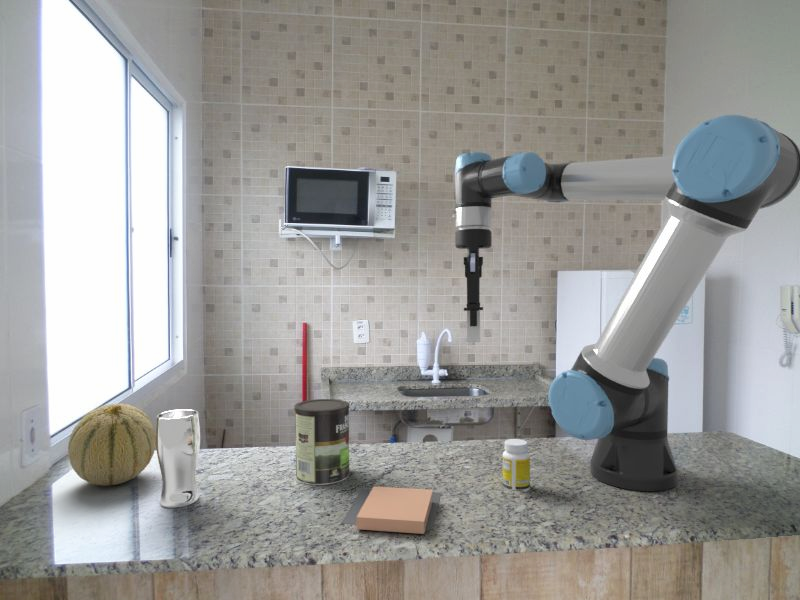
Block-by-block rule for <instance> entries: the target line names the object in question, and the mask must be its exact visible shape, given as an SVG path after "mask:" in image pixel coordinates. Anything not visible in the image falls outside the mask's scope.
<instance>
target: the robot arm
mask: <svg viewBox="0 0 800 600" xmlns="http://www.w3.org/2000/svg"><path fill="white" fill-rule="evenodd" d="M799 182H800V147H799V146H798V145H797V143H796V142H795V141H794V140H793V139H792V138H790V137H789V136H788V135H785V134H784V133H782V132H779V130H776V129H775V128H773V127H772V126H770V124H768V123H767V122H764V121H762V120H759V119H757V118H752V117H748V116H746V115H739V114H725V115H720V116H716V117H713V118H710V119H708V120H706V121H703V122H702V123H700V124H698V125H697V126H695V127H694V128H693V129H691V130H690V132H688V133H687V134H686V135H685V136H684V137H683V139H682V140H681V141H680V143H679V144H678V146H677V148H676V149H675V152H674V153H673V155H667V156H650V157H648V156H647V157H636V158H634V157H632V158H624V159H623V158H621V159H619V158H618V159H608V160H607V159H606V160H595V161H594V160H592V161H579V162H570V163H569V162H568V163H567V162H566V163H565V162H564V163H548V162H545V161H544V160H543V158H541V157H540V156H539V154H538V153H536V152H534V151H528V152H517V153H513V154H512V155H508V156H503V157H499V158H495V159H492V157H491V155H490V154H489V153H488V152H483V151H482V152H480V151H473V152H466V153H465V152H464V153H461V154H460V155H458V156H457V157H456V161H455V170H454V185H455V187H454V188H455V190H454V192H455V193H454V195H455V212H456V213H453V214H452V219H455V228H456V229H458V230H456V231H455V232H454V233H455V240H454V241H455V248H457V249H460V250H461V249H462V250H467V254H466V255H467V256H463V265H464V278H466V307H463V311H464V312H466V342H468V343H480V342H481V311H483V310H484V306H482V307H481V302H480V301H481V300H480V294H481V293H480V282H481V281H480V279H481V278H483V277H482V276H483V271H482V268H483V267H482V266H483V265H484V257H483V256H480V249H482V250H483V249H490V248H491V247H492V241H493V240H492V235H493V234H492V231H491V229H490V228H492V226H493V225H492V224H493V220H492V219H493V212H492V211H493V208H492V205H493V203H492V200H493V199H496V198H502V197H508V196H509V197H511V196H512V197H513V196H514V197H518V198H519V197H520V198H525V199H526V198H527V199H532V200H540V201H546V202H548V203H554V204H555V203H566V202H568V201H651V200H653V201H654V200H655V201H657V200H659V201H663V200H664V201H665V203H666V206H667V208H668V214H667V217H665V220H664V221H663V223H662V225H661V226H660V228H659V230H658V232H657V233H656V236H654V240H653V241H652V243H651V245H650V247H648V250H647V252H646V253H645V256H644V257H643V259H642V261H641V263H639V264H640V265H639V266H638V268H637V270H636V271H635V273H634V275H633V277H632V279H631V280H630V282H629V284H628V286H627V288H626V289H625V291H624V293H623V295H622V296H621V298H620V300H619V303H618V304H617V305H616V307H615V310H614V311H613V313H612V314H611V316H610V318H609V320H608V322H607V323H606V326H605V327H604V329H603V331H602V333H601V335H600V336H599V337H598V339H597V342H595V343H593V344H589V345H585V346H584V347H583V348H582V349H581V351H580V353H579V355H578V356H577V358H576V360H575V361H574V364H573V366H572V368H571V369H570V370H569V369H567V370H566V371H562V372H561V373H560V374H558V375H557V376H556V377H555V378H554V379H553V380H552V382H551V383H550V385H549V386H550V387H549V389H548V396H547V398H548V406H549V408H550V410H551V416H552V417H553V419H554V420H555V422H556V423H557V425H558V426H559V427H560V429H561V430H563V431H564V432H565V433H566V434H567V435H569V436H571V437H573V438H576V439H578V440H582V441H591V440H597V441H596V443H595V447H594V450H593V452H592V455H591V458H590V470H589V471H590V475H592V477H593V478H594V479H596V480H598V481H600V482H602V483H604V484H606V485H610V486H613V487H617V488H621V489H626V490H631V491H632V490H633V491H640V492H641V491H642V492H660V491H667V490H670V489H671V490H672V488H675V487H676V486H677V485H678V483H679V482H678V481H679V480H678V479H679V477H678V476H679V471H678V468H677V467H678V466H677V464H676V462H675V459H674V455H673V452H672V450H671V446H670V443H669V440H668V427H669V425H668V423H669V422H668V421H669V412H668V411H669V382H670V376H669V370H668V364H667V361H665V360H664V359H662V358H659V357H656V355H657V353H658V351H659V349H660V348H661V347H662V344H663V343H664V341H665V340H666V338H667V336H668V335H669V333H670V331H671V330H672V328H673V327H674V325H675V324H676V322H677V320H678V319H679V318H680V315H681V314H682V312H683V311H684V309H685V307H686V306H687V305H688V302H689V301H690V299H691V297H692V296H693V294H694V293H695V291H696V290H697V288H698V286H699V284H700V283H701V281H703V278H704V277H705V276H706V273H707V271H708V270H709V268H710V267H711V266H712V264H713V262H714V260H715V259H716V257H717V255H718V254H719V253H720V251H721V249H722V247H723V245H725V242H726V241H727V239H728V238H729V237H731V236H733V235H736V234H739V233H742V232H745V231H747V229H748V228H749V226H750V225H751V223H752V221H753V220H754V218H755V217H756V215H757V214H758V212H759V210H762V209H764V208H769V207H771V206H773V205H776V204H778V203H781V202H782V201H783V200H784V199H786V198H787V197H789V195H791V194H792V192H793V191H794V190H795V189H796V188H797V186H798V184H799Z"/></svg>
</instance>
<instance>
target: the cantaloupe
mask: <svg viewBox="0 0 800 600" xmlns="http://www.w3.org/2000/svg"><path fill="white" fill-rule="evenodd" d="M67 447H68V448H67V452H68V454H67V455H68V459H69V462H70V466H71V468H72V469H73V471H74V472H75V474H76V475H77V476H78V477H79V478H80V479H82V480H84V481H85V482H87V483H89V484H93V485H95V486H96V485H98V486H105V487H107V486H116V485H119V484H120V485H121V484H123V483H126V482H128V481H130V480H132V479H134V478H136V477H137V476H139V475H140V474H141V473H142V472H143V471H144V470H145V469H146V468H147V467H148V465H149V464H150V462H151V461H152V459H153V456H154V454H155V450H156V430H155V429H154V425H153V422H152V420H151V419H150V417H149V416H148V415H147V414H146V413H145V412H144V411H143V410H141V409H140V408H138V407H135V406H132V405H131V404H127V403H114V404H113V403H112V404H106V405H102V406H99V407H98V408H95V409H93V410H90V411H89V412H87V413H86V414H85V415H84V416H82V418H81V419H80V420H79V422H78V423H77V424H76V425H75V426H74V428H73V430H72V431H71V434H70V435H69V441H68V446H67Z"/></svg>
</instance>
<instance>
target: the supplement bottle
mask: <svg viewBox="0 0 800 600" xmlns="http://www.w3.org/2000/svg"><path fill="white" fill-rule="evenodd" d="M502 485H503V488H506V489H509V490H513V491H522V493H526V492H528V491H529V490H530V489H531V459H530V454H529V452H528V441H527V440H525V439H520V438H508V439H505V440H504V451H503V452H502Z"/></svg>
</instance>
